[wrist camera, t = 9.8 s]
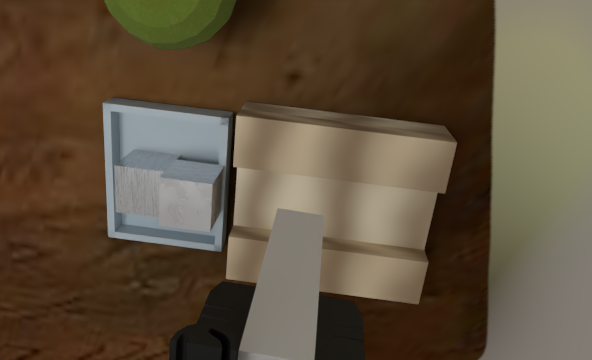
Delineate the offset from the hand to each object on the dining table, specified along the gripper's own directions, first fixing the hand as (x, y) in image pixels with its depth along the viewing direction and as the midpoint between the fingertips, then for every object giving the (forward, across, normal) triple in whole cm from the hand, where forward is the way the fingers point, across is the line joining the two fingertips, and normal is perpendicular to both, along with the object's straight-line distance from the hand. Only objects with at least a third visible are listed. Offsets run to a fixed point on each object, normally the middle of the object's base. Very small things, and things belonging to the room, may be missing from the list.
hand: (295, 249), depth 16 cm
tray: (+25, -12, -9) cm, 29 cm away
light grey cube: (+23, -9, -9) cm, 26 cm away
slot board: (+25, +2, -9) cm, 27 cm away
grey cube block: (+23, -11, -9) cm, 27 cm away
